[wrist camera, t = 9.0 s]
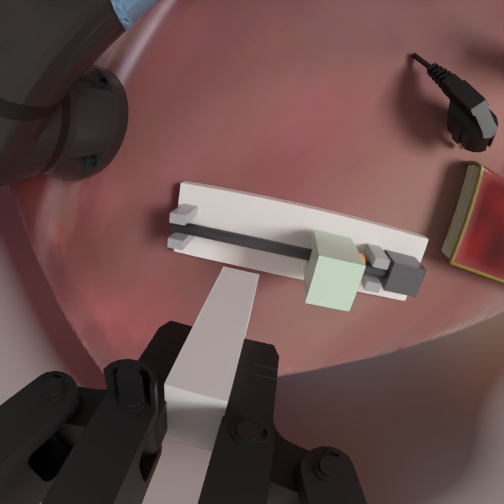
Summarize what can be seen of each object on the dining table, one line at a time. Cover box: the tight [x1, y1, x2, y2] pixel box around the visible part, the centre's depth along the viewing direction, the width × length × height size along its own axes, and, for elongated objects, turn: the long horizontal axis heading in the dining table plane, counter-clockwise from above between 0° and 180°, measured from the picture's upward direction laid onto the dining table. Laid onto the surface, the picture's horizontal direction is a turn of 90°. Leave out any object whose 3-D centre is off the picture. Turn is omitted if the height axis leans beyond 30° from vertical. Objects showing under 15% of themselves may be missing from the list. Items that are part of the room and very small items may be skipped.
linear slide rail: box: [167, 181, 429, 301], centre depth 30 cm, size 28×8×6 cm, turn 80°
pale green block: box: [303, 230, 366, 311], centre depth 27 cm, size 4×4×7 cm
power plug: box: [412, 53, 498, 152], centre depth 23 cm, size 6×8×12 cm
